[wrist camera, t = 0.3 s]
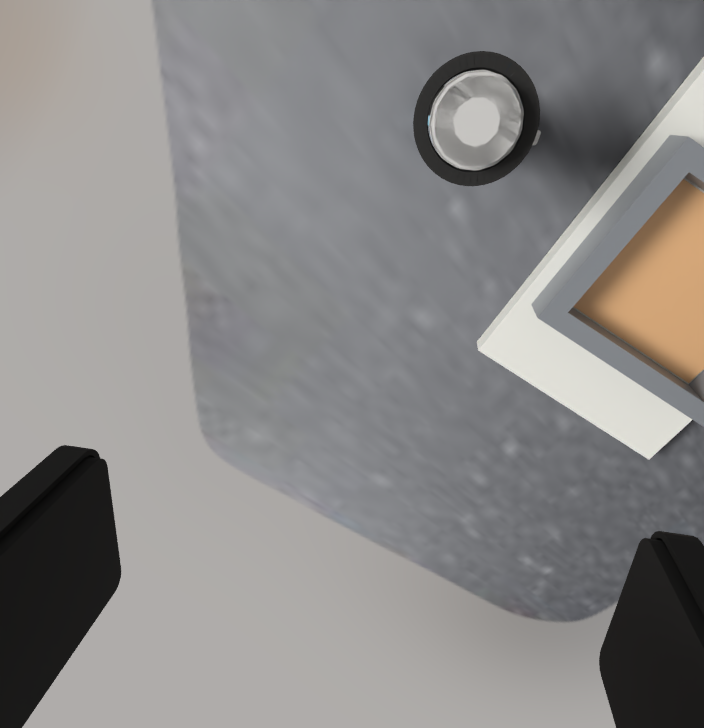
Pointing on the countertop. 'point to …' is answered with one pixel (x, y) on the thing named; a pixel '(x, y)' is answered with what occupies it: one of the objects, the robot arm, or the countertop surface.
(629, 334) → the dock board
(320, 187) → the countertop surface
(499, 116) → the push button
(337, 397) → the countertop surface
